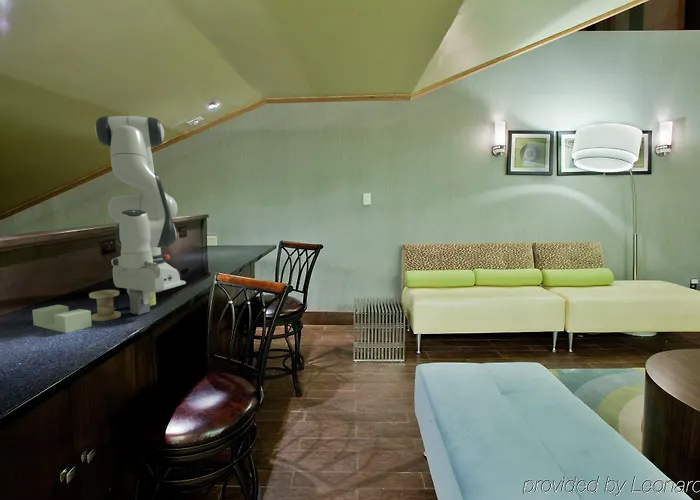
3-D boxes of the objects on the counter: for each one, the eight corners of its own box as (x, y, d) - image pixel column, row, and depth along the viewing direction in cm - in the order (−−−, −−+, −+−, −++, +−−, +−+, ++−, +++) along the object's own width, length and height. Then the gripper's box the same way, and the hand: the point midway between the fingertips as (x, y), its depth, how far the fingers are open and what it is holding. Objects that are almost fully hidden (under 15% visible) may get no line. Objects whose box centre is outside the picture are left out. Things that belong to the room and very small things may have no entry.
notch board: (59, 319, 124) (58, 304, 123) (91, 326, 116) (90, 310, 116) (33, 325, 117) (32, 309, 117) (65, 333, 110) (64, 316, 110)
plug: (141, 310, 133) (140, 285, 132) (149, 311, 131) (148, 287, 130) (130, 313, 130) (128, 288, 129) (138, 314, 128) (137, 289, 127)
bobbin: (110, 312, 131) (109, 288, 130) (126, 315, 127) (124, 291, 126) (85, 319, 124) (83, 293, 123) (101, 322, 120) (99, 296, 119)
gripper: (167, 261, 127) (170, 304, 128) (126, 257, 136) (128, 297, 137) (150, 264, 121) (152, 309, 123) (107, 259, 130) (110, 301, 132)
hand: (139, 302), depth 130 cm, fingers closed on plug, 4 cm apart
